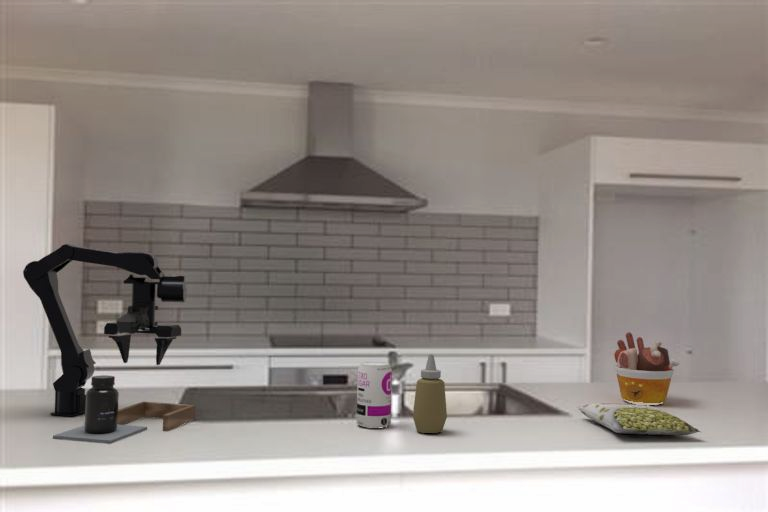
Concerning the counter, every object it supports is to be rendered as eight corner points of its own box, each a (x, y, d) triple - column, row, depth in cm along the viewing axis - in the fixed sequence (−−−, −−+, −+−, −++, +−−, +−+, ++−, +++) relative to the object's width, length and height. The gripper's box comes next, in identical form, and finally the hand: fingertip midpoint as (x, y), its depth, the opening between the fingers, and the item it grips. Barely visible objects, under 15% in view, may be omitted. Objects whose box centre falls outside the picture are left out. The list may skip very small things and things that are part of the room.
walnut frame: (112, 426, 170) (112, 411, 170) (143, 415, 183) (143, 401, 183) (167, 431, 167) (167, 415, 167) (195, 419, 179) (195, 405, 179)
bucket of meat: (687, 408, 209) (688, 338, 209) (632, 409, 206) (633, 338, 207) (651, 396, 229) (652, 332, 229) (601, 396, 226) (602, 331, 227)
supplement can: (395, 424, 179) (397, 362, 179) (381, 431, 172) (383, 366, 172) (366, 420, 183) (367, 360, 183) (350, 427, 175) (352, 364, 175)
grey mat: (52, 438, 158) (52, 435, 158) (93, 425, 171) (93, 422, 171) (110, 443, 154) (110, 440, 154) (147, 429, 168) (147, 426, 168)
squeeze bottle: (450, 430, 174) (452, 354, 175) (441, 437, 167) (443, 357, 167) (417, 426, 177) (419, 352, 177) (407, 433, 169) (409, 355, 170)
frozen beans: (615, 415, 166) (575, 396, 191) (614, 441, 166) (573, 418, 191) (702, 419, 168) (651, 399, 193) (701, 444, 168) (650, 421, 193)
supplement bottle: (106, 435, 159) (107, 379, 159) (77, 433, 160) (79, 377, 160) (123, 428, 165) (125, 375, 166) (96, 426, 167) (97, 373, 167)
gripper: (91, 302, 180) (89, 366, 180) (159, 304, 175) (158, 370, 175) (117, 300, 191) (116, 360, 190) (183, 302, 186) (181, 364, 186)
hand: (141, 363), depth 185 cm, fingers open, 9 cm apart
